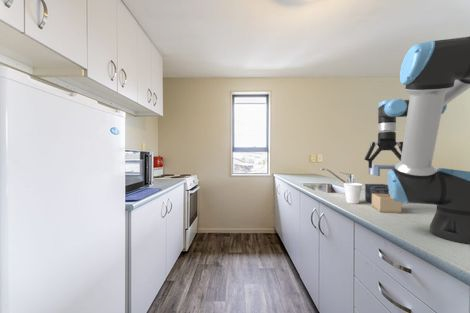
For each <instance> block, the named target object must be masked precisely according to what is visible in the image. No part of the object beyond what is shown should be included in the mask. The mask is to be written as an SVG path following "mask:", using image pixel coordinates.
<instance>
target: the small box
mask: <svg viewBox="0 0 470 313" xmlns="http://www.w3.org/2000/svg"><path fill="white" fill-rule="evenodd" d="M364 188H365V189H364V193H365V194H364V198H365V199H364V200H365V202H366V203H369V204H372V194H390V193H389V189H388V184H384V183H364Z"/></svg>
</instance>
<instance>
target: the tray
mask: <svg viewBox="0 0 470 313" xmlns="http://www.w3.org/2000/svg"><path fill="white" fill-rule="evenodd" d="M402 203H403V202H396V201H394V200H393V199H392V197H391V195H390V193H389V194H372V203H371V207H372V208H373V209H374V210H376V211H378V212H379V213H386V214H387V213H388V214H402V207H403V206H402Z"/></svg>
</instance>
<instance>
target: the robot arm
mask: <svg viewBox="0 0 470 313" xmlns="http://www.w3.org/2000/svg"><path fill="white" fill-rule="evenodd" d="M399 81H400V83H401V85H404V86H405V87H404V88H405V89H404V90H405V91H406V92H407V93H408V94H409V99H403V98H394V99H386V100H385V99H384V100H381V101H380V102H378V108H377V111H378V113H377V114H378V115H377V117H378V118H377V121H378V122H377V133H378V134H377V142H375V141H372V142H371V141H370V146H369V148H368V150H367V152H366V154H365V157H364V161H367V162H368V169H369V168H371V171H370V174H369V175H372V176H375V175H374V165H375V161H374V160H375V159H376V157H377V156H378V155H379V154H380V153H381V152H382V151H391V152H392V153H393V154H394V155H395V157H396V158H397V159H398V160H399V161H398V162H397V163H395V168H394V171H393V170H392V169H390V170H388V171H387V173H386V181H387V182H386V183H387V185H388V189H389V194H390V195H391V197H392V199H393V200H394V201H396V202H402V203H403V204H404V203H405V204H419V205H420V204H421V205H433V206H436V211H435V214H434V215H433V218H432V220H431V222H430V224H429V232H430V234H432V235H434V236H436V237H439V238H442V239H445V240H448V241H453V242H458V243H463V244H470V171H467V170H461V169H452V168H443V167H438V168H437V169H436V168H435V167H434V166H433V165H432V163H433V160H434V158H433V157H434V153H435V149H436V144H437V138H438V133H439V129H440V123H441V119H442V118H441V117H442V115H443V114H444V113H445V111H447V107H448V104H449V103H450V102H452V101H453V100H455V99H456V98H457V97H459V96H461V95H462V94H463V93H464V92H466V91H468V90H469V89H470V36H462V37H455V38H448V39H447V38H446V39H439V40H438V39H437V40H430V41H425V42H420V43H416V44H414V45H413V46H411V47H410V48H409V50H408V51H407V53H406V54H405V55H404V58H403V61H402V63H401V67H400V71H399ZM397 118H406V120H405V121H406V122H405V128H404V135H403V141H396V139H397V132H396V131H397ZM376 146H378V148H377V149H376V151H374V149H375V147H376ZM396 146H397V147H398V148H399V151H400V152H399V151H398V149H397V148H396ZM373 151H374V152H373ZM372 153H373V154H372Z"/></svg>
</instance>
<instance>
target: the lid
mask: <svg viewBox="0 0 470 313" xmlns="http://www.w3.org/2000/svg"><path fill="white" fill-rule="evenodd" d="M394 168H395V165H389V164H387V165H386V164H385V165H383V164H382V165H381V164H376V165H375V164H374V175H373V176H377V177H380V176H381V170H393V171H394ZM370 171H371V168H369V167H368V174H369V175H371V174H370Z"/></svg>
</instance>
